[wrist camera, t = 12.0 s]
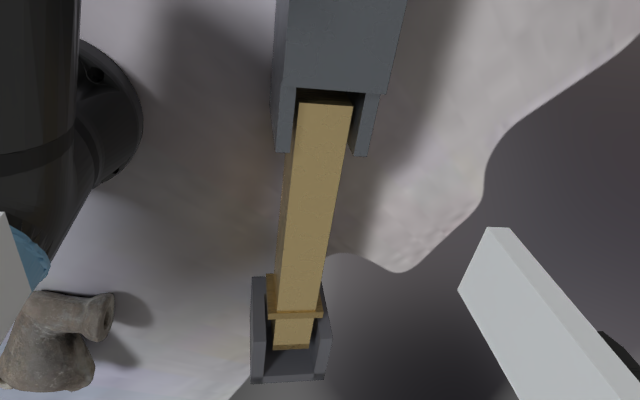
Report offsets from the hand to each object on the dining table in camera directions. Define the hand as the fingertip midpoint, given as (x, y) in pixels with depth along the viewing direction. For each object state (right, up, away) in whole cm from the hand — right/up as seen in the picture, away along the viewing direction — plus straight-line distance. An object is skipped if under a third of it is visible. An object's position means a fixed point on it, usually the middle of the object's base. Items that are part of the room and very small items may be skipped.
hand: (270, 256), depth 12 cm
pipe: (-34, -15, +44) cm, 57 cm away
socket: (-4, -13, +47) cm, 49 cm away
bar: (-1, 0, +35) cm, 35 cm away
